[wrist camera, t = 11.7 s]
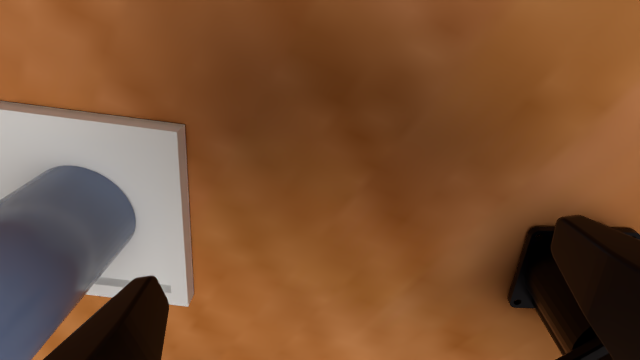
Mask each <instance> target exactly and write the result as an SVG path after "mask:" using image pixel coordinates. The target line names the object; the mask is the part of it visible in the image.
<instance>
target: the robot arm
mask: <svg viewBox="0 0 640 360" xmlns="http://www.w3.org/2000/svg"><path fill="white" fill-rule="evenodd" d="M538 234H540V235H539V236H536V235H538ZM535 236H536V237H535ZM508 301H509V303H510V305H511V306H512V307H515V308H535V309H536V311H537V313H538V315H539V316H540V318H541V320H542V321H543V323H544V325H545V326H546V328H547V330H548V332H549V333H550V335H551V337H552V338H553V340H554V342H555V343H556V345H557V347H558V349H559V350H560V352H561V354H562V355H563V356H561V357H559V358H557V359H556V360H640V235H639V234H638V233H637V232H636V231H635V230H633V229H615V228H610V227H608V226H605V225H603V224H601V223H598V222H596V221H593V220H591V219H589V218H586V217H584V216H581V215H572V216H565V217H561V218H559V219H558V220H557V222H556V226H555V227H534V228H532V229H531V230H530V231H529V232H528V235H527V238H526V241H525V245H524V248H523V251H522V254H521V257H520V260H519V264H518V267H517V270H516V273H515V276H514V280H513V283H512V286H511V289H510V292H509V295H508ZM168 312H169V303H168V299H167V297H166V295H165V293H164V291H163V289H162V287H161V285H160V284H159V282H158V280H157V278H156V277H155V276H151V275H150V276H143V277H137V278H135V279H133V280H132V281H131V282H130V283H128V284H127V285H126V286H125V287H124V288H123V289H122V290H121V291H119V292H118V293H117V294H116V295H115V296H114V297H113V298H112V299H110V300H109V301H108V302H107V303H106V304H105V305H104V306H103V307H101V308H100V309H99V310H98V311H97V312H96V313H95V314H94V315H93V316H91V317H90V318H89V319H88V320H87V321H86V322H85V323H84V324H82V325H81V326H80V327H79V328H78V329H77V330H76V331H75V332H73V333H72V334H71V335H70V336H69V337H68V338H67V339H66V340H64V341H63V342H62V343H61V344H60V345H59V346H58V347H57V348H55V349H54V350H53V351H52V352H51V353H50V354H49V355H48V356H46V357H45V358H44V359H43V360H161V356H162V350H163V344H164V337H165V331H166V324H167V318H168Z"/></svg>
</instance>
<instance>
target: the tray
mask: <svg viewBox="0 0 640 360" xmlns="http://www.w3.org/2000/svg"><path fill="white" fill-rule="evenodd" d="M64 165H66V166H79V167H83V168H86V169H89V170H92V171H94V172H97V173H99V174H101V175H102V176H104V177H106V178H107V179H109V180H110V181H112V182H113V183H114V184H115V185H116V186H117V187H118V188H119V189H120V190H121V191H122V192H123V193H124V194H125V196H126V197H127V198H128V200H129V202H130V203H131V206H132V208H133V210H134V214H135V219H136V227H135V232H134V234H133V236H132V238H131V240H130V241H129V242H128V243H127V245H126V246H125V247H124V248H123V249H122V251H121V252H120V253H119V254H118V255H117V257H116V258H115V259H114V260H113V261H112V263H111V264H110V265H109V266H108V268H107V269H106V270H105V271H104V272H103V274H102V275H101V276H100V277H99V278H98V280H97V281H96V282H95V283H94V284H93V286H92V287H91V288H90V289H89V291H88V292H87V293H86V294H88V295H96V296H104V297H114V296H115V295H116V294H117V293H118V292H119V291H121V290H122V289H123V288H124V287H125V286H126V285H127V284H128V283H130V282H131V281H132V280H133V279H135V278H137V277H143V276H150V275H151V276H155V277H156V278H157V280H158V282H159V284H160V285H161V287H162V289H163V291H164V293H165V295H166V297H167V299H168V303H169V304H171V305H179V306H187V307H188V306H189V304H190V302H191V300H192V297H193V295H194V285H193V266H192V248H191V229H190V210H189V192H188V173H187V155H186V136H185V124H177V123H169V122H162V121H154V120H146V119H138V118H131V117H123V116H115V115H107V114H99V113H92V112H84V111H76V110H68V109H61V108H53V107H45V106H37V105H30V104H22V103H14V102H6V101H0V200H1V199H2V198H4V197H5V196H7V195H9V194H10V193H12V192H13V191H15V190H16V189H18V188H20V187H21V186H23V185H24V184H26V183H27V182H29V181H31V180H32V179H34V178H35V177H37V176H38V175H40V174H42V173H43V172H45V171H46V170H48V169H51V168H53V167H57V166H64Z"/></svg>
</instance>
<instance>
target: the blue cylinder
mask: <svg viewBox="0 0 640 360" xmlns="http://www.w3.org/2000/svg"><path fill="white" fill-rule="evenodd" d="M135 227H136V219H135V214H134V210H133V208H132V206H131V203H130V202H129V200H128V198H127V197H126V196H125V194H124V193H123V192H122V191H121V190H120V189H119V188H118V187H117V186H116V185H115V184H114V183H113V182H112V181H110V180H109V179H107V178H106V177H104V176H102V175H101V174H99V173H97V172H94V171H92V170H89V169H86V168H83V167H79V166H66V165H64V166H57V167H53V168H51V169H48V170H46V171H45V172H43V173H42V174H40V175H38V176H37V177H35V178H34V179H32V180H31V181H29V182H27V183H26V184H24V185H23V186H21V187H20V188H18V189H16V190H15V191H13V192H12V193H10V194H9V195H7V196H5V197H4V198H2V199H1V200H0V360H31V359H32V358H33V357H34V356H35V355H36V353H37V352H38V351H39V350H40V349H41V347H42V346H43V345H44V344H45V343H46V341H47V340H48V339H49V338H50V336H51V335H52V334H53V333H54V332H55V330H56V329H57V328H58V327H59V326H60V324H61V323H62V322H63V321H64V320H65V318H66V317H67V316H68V315H69V313H70V312H71V311H72V310H73V309H74V307H75V306H76V305H77V304H78V303H79V301H80V300H81V299H82V298H83V297H84V295H85V294H86V293H87V292H88V291H89V289H90V288H91V287H92V286H93V284H94V283H95V282H96V281H97V280H98V278H99V277H100V276H101V275H102V274H103V272H104V271H105V270H106V269H107V268H108V266H109V265H110V264H111V263H112V261H113V260H114V259H115V258H116V257H117V255H118V254H119V253H120V252H121V251H122V249H123V248H124V247H125V246H126V245H127V243H128V242H129V241H130V240H131V238H132V236H133V234H134V232H135Z"/></svg>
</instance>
